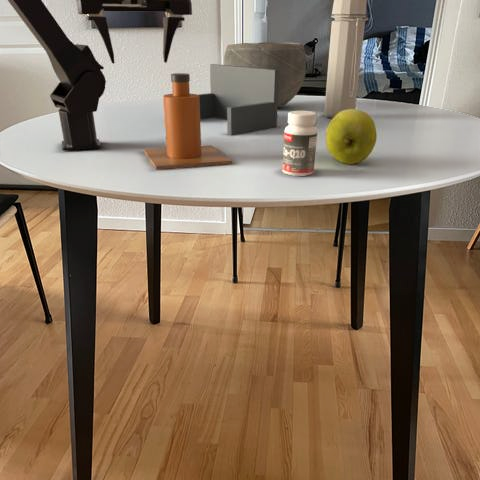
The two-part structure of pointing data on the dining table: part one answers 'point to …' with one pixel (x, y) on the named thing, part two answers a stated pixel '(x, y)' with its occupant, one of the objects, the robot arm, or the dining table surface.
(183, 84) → the amber bottle
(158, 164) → the wooden square board
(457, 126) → the dining table surface
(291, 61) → the bowl
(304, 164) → the pill bottle
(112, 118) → the dining table surface
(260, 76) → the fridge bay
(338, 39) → the water bottle
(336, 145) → the apple
